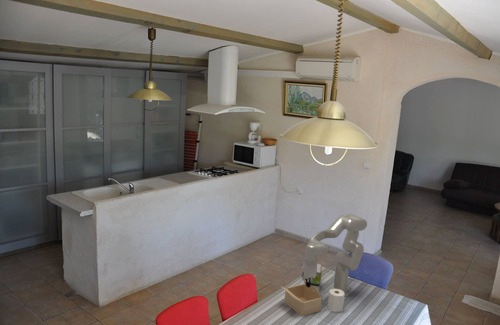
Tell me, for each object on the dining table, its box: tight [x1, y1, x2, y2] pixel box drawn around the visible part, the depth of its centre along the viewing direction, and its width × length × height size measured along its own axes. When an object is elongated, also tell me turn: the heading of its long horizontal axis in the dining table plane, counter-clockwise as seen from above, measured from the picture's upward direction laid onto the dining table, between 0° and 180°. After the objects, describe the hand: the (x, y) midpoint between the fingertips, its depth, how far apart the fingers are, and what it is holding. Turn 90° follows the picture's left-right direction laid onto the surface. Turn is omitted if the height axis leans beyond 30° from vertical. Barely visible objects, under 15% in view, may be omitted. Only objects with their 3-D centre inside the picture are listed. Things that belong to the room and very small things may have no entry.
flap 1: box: [280, 285, 301, 302], centre depth 268 cm, size 6×18×1 cm
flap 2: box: [302, 280, 322, 297], centre depth 276 cm, size 6×18×1 cm
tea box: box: [310, 263, 323, 291], centre depth 304 cm, size 15×10×15 cm
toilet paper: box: [327, 287, 345, 313], centre depth 274 cm, size 10×10×12 cm
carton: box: [284, 283, 323, 317], centre depth 274 cm, size 16×21×10 cm
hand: (307, 286), depth 274 cm, fingers closed
